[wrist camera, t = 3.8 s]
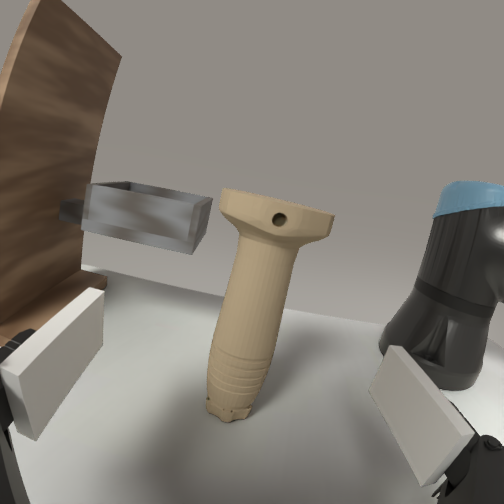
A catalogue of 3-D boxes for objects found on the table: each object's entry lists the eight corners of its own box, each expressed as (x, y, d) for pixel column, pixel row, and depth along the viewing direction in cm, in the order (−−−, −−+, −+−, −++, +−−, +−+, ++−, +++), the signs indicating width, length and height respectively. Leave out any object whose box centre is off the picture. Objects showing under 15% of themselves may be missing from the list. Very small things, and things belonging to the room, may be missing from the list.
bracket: (191, 306, 37) (243, 71, 31) (157, 404, 19) (246, -18, 13) (73, 275, 36) (113, 56, 30) (-16, 337, 18) (35, -10, 12)
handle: (188, 382, 23) (225, 187, 20) (267, 397, 23) (323, 210, 20) (177, 422, 18) (218, 189, 15) (271, 438, 19) (345, 219, 15)
